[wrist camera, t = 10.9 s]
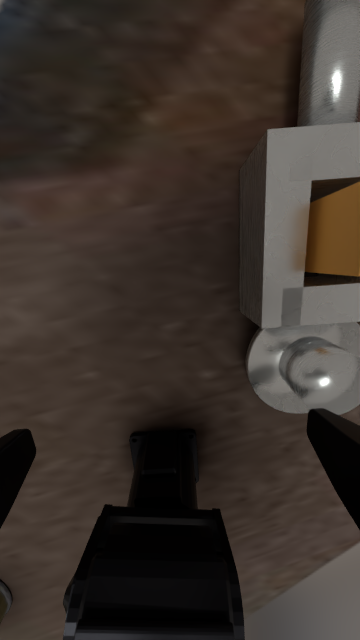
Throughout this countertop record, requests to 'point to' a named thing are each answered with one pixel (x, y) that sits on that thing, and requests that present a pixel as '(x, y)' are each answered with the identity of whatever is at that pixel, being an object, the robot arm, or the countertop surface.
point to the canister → (4, 600)
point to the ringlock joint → (304, 228)
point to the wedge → (335, 233)
